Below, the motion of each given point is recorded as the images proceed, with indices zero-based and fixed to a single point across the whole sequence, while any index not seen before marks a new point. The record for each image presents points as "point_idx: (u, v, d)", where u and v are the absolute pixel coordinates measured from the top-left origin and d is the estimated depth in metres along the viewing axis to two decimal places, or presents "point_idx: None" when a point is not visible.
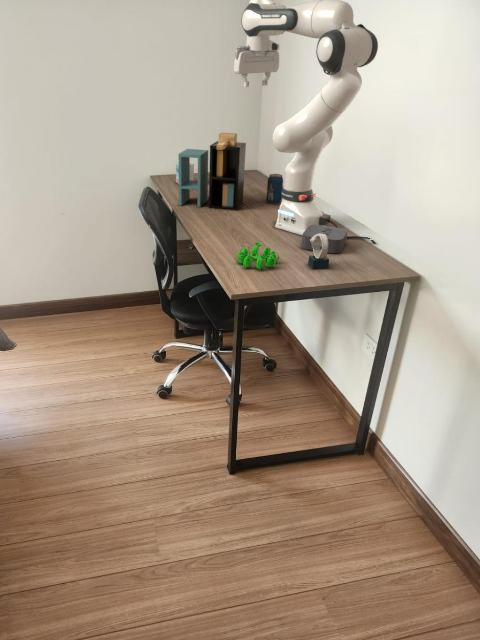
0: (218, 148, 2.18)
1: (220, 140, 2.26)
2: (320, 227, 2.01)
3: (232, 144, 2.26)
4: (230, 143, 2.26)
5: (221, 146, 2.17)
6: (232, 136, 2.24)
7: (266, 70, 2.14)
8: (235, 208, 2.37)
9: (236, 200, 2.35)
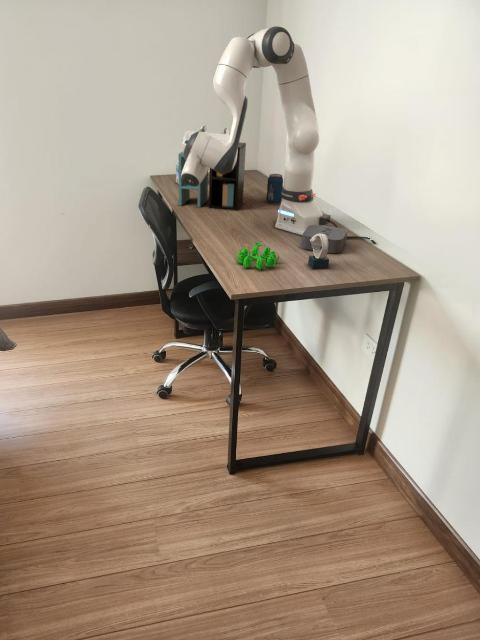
0: None
1: None
2: (320, 227, 2.01)
3: None
4: None
5: None
6: None
7: None
8: (235, 208, 2.37)
9: (236, 200, 2.35)
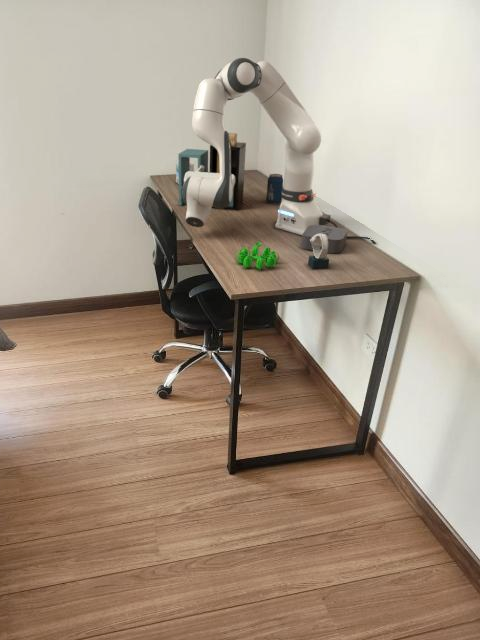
0: None
1: None
2: (320, 227, 2.01)
3: (232, 144, 2.26)
4: None
5: None
6: (232, 136, 2.24)
7: (201, 172, 2.12)
8: (235, 208, 2.37)
9: (236, 200, 2.35)
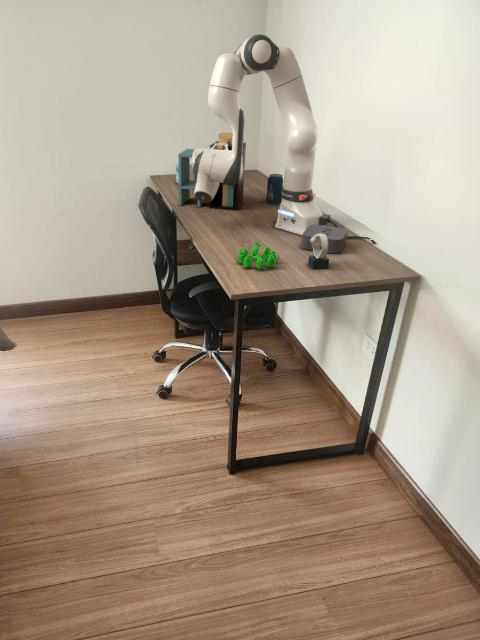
0: (218, 148, 2.18)
1: (220, 140, 2.26)
2: (320, 227, 2.01)
3: None
4: (230, 143, 2.26)
5: (221, 146, 2.17)
6: (232, 136, 2.24)
7: (209, 149, 2.17)
8: (235, 208, 2.37)
9: (236, 200, 2.35)
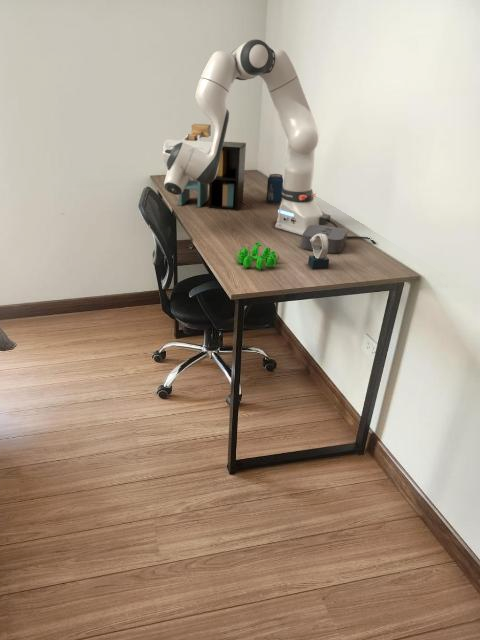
0: (190, 139, 2.12)
1: (193, 131, 2.20)
2: (320, 227, 2.01)
3: (205, 136, 2.20)
4: (203, 134, 2.19)
5: (193, 137, 2.11)
6: (205, 127, 2.18)
7: (180, 140, 2.11)
8: (235, 208, 2.37)
9: (236, 200, 2.35)
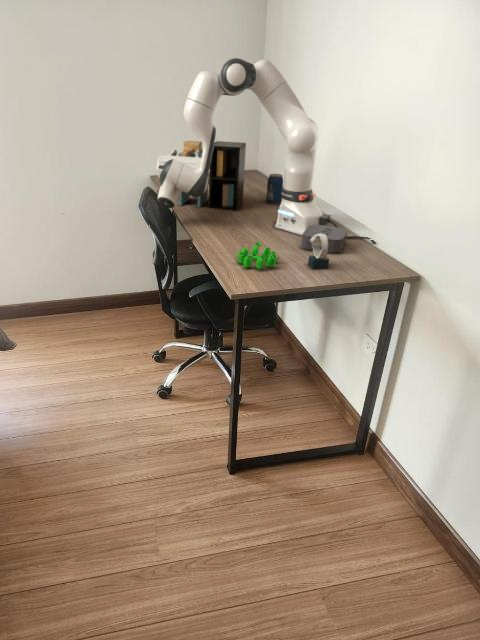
0: (182, 156, 2.24)
1: (185, 148, 2.33)
2: (320, 227, 2.01)
3: None
4: None
5: (185, 154, 2.23)
6: (196, 144, 2.30)
7: (173, 156, 2.23)
8: (235, 208, 2.37)
9: (236, 200, 2.35)
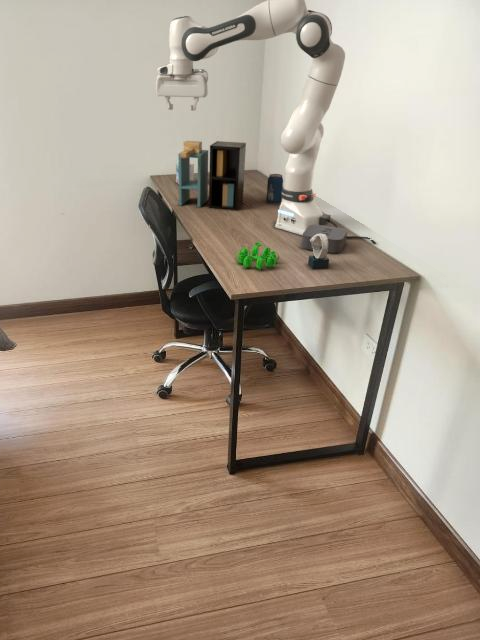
0: (182, 156, 2.24)
1: (185, 148, 2.33)
2: (320, 227, 2.01)
3: (196, 152, 2.32)
4: (195, 151, 2.32)
5: (185, 154, 2.23)
6: (196, 144, 2.30)
7: None
8: (235, 208, 2.37)
9: (236, 200, 2.35)
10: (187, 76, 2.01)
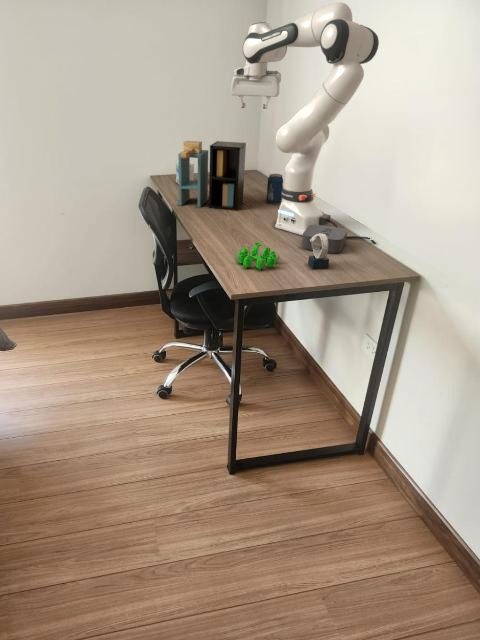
0: (182, 156, 2.24)
1: (185, 148, 2.33)
2: (320, 227, 2.01)
3: (196, 152, 2.32)
4: (195, 151, 2.32)
5: (185, 154, 2.23)
6: (196, 144, 2.30)
7: None
8: (235, 208, 2.37)
9: (236, 200, 2.35)
10: (262, 77, 2.18)
